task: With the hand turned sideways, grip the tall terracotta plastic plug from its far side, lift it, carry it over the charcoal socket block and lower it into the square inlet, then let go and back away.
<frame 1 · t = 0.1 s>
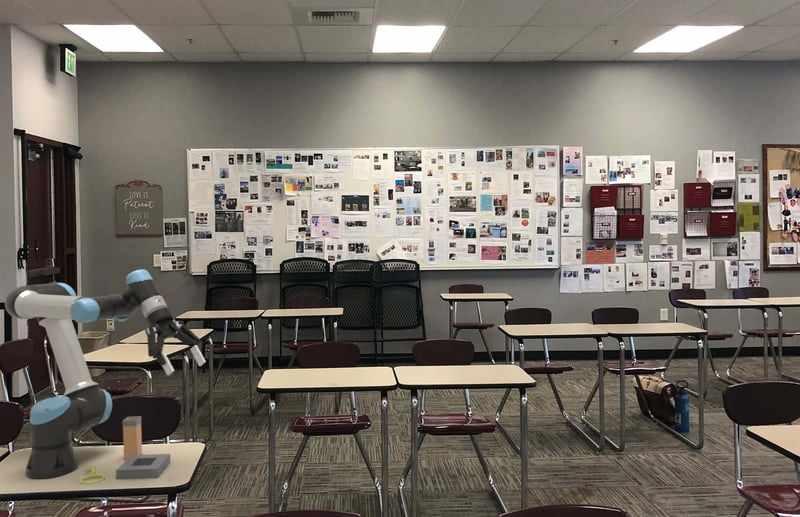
hand: (187, 368, 194), 36 cm above the table, tool tilted 35°, fingers open, 13 cm apart
key: (92, 479, 198), on the table
plug: (133, 457, 215), on the table
socket block: (144, 470, 203), on the table
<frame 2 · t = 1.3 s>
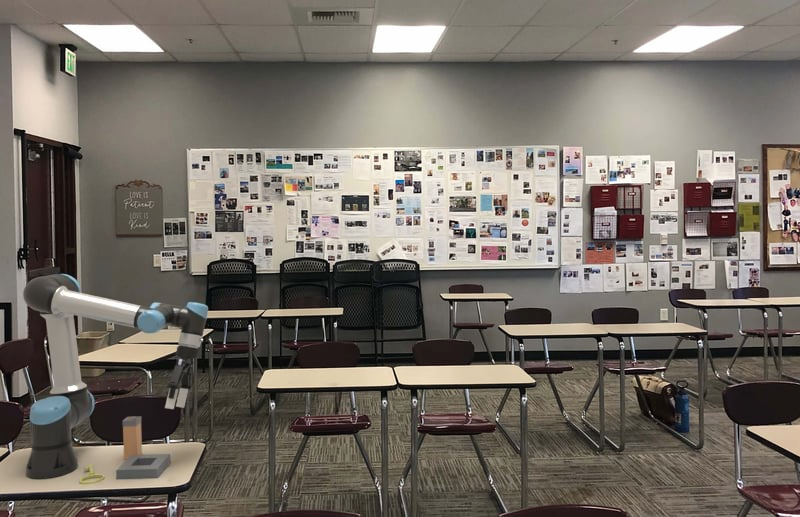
hand: (174, 407, 211), 19 cm above the table, tool tilted 20°, fingers open, 13 cm apart
nothing on the table moved.
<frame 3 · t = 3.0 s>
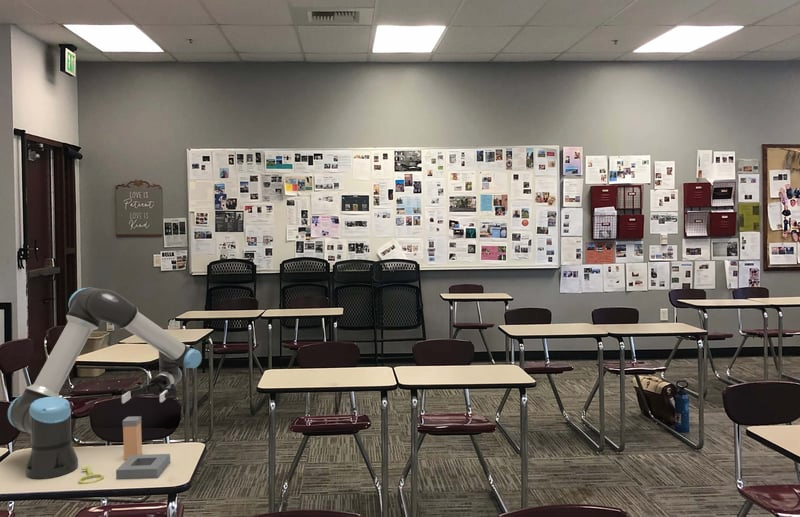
hand: (141, 399, 223), 18 cm above the table, tool horizontal, fingers open, 13 cm apart
nothing on the table moved.
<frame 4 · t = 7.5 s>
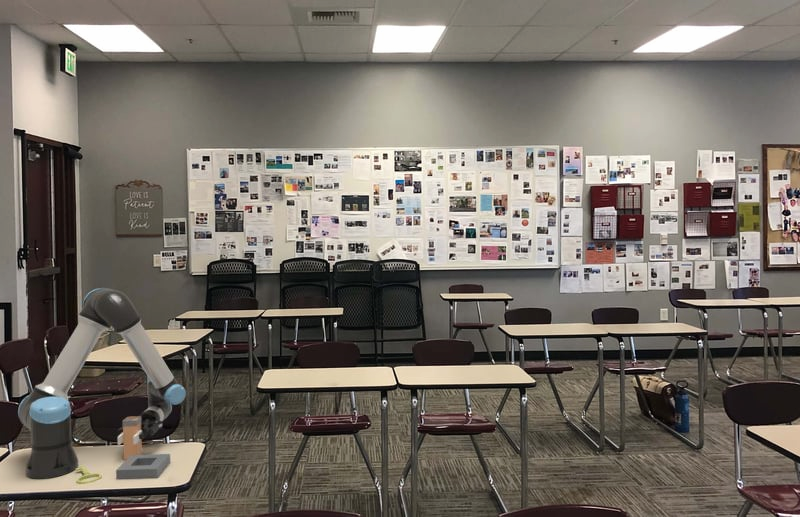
hand: (126, 440, 209), 8 cm above the table, tool horizontal, fingers closed on plug, 4 cm apart
key: (86, 478, 199), on the table
plug: (133, 457, 215), on the table, touching gripper
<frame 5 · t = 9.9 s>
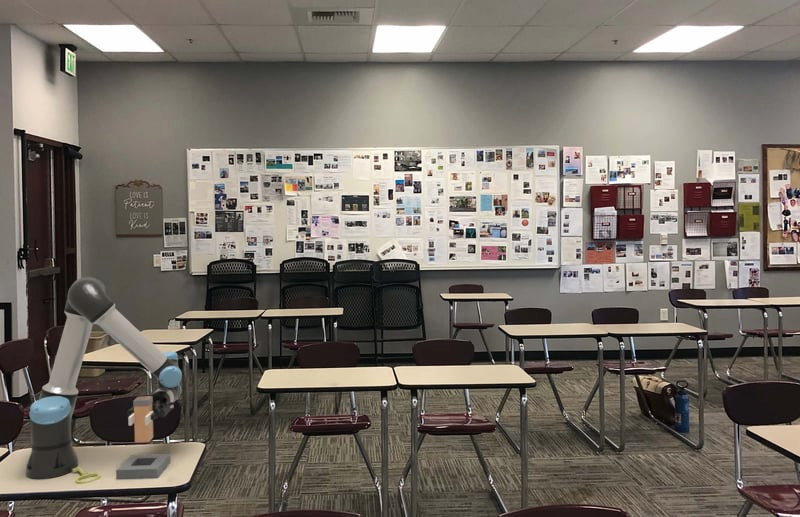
hand: (138, 421, 199), 18 cm above the table, tool horizontal, fingers closed on plug, 4 cm apart
plug: (144, 439, 204), point 10 cm above the table, touching gripper
everything else where it was.
when the fingers open (9 cm above the table, at t = 12.5 s): plug stays where it is, resting in socket block.
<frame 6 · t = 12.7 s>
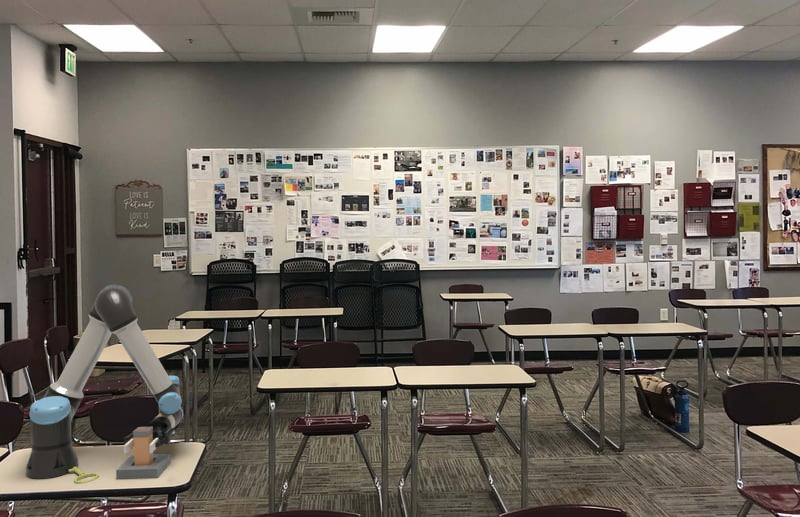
hand: (137, 449, 198), 9 cm above the table, tool horizontal, fingers open, 7 cm apart
plug: (144, 470, 203), resting in socket block
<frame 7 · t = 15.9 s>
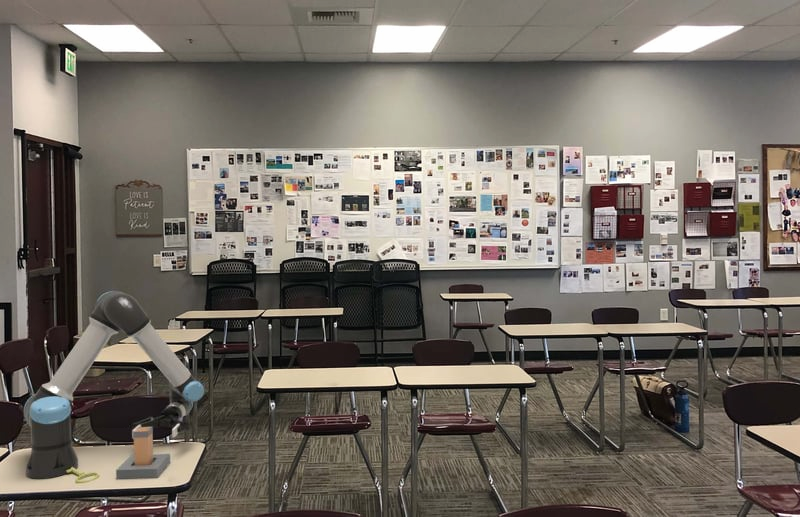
hand: (153, 434, 212), 9 cm above the table, tool horizontal, fingers open, 13 cm apart
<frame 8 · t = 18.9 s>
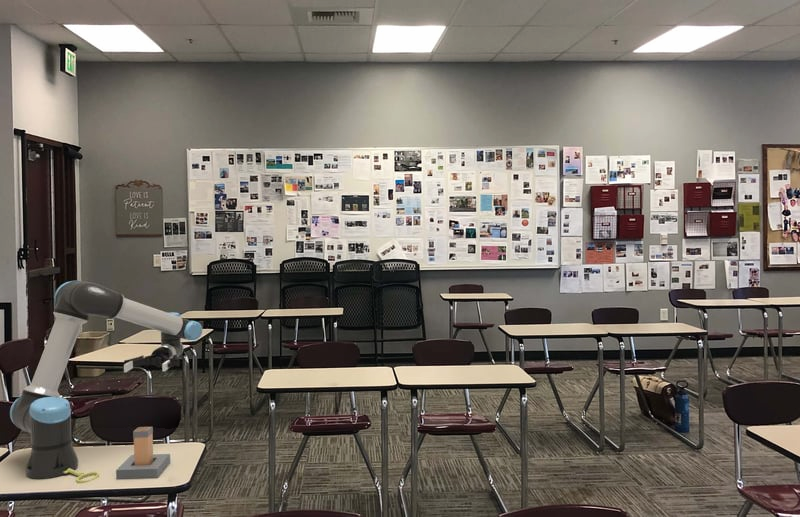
hand: (144, 368, 221), 30 cm above the table, tool horizontal, fingers open, 13 cm apart
at the end: plug 0.0 cm off-centre on the socket block, point 0.0 cm above the socket block's base; plug tilted 0°; the gripper is holding nothing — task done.
